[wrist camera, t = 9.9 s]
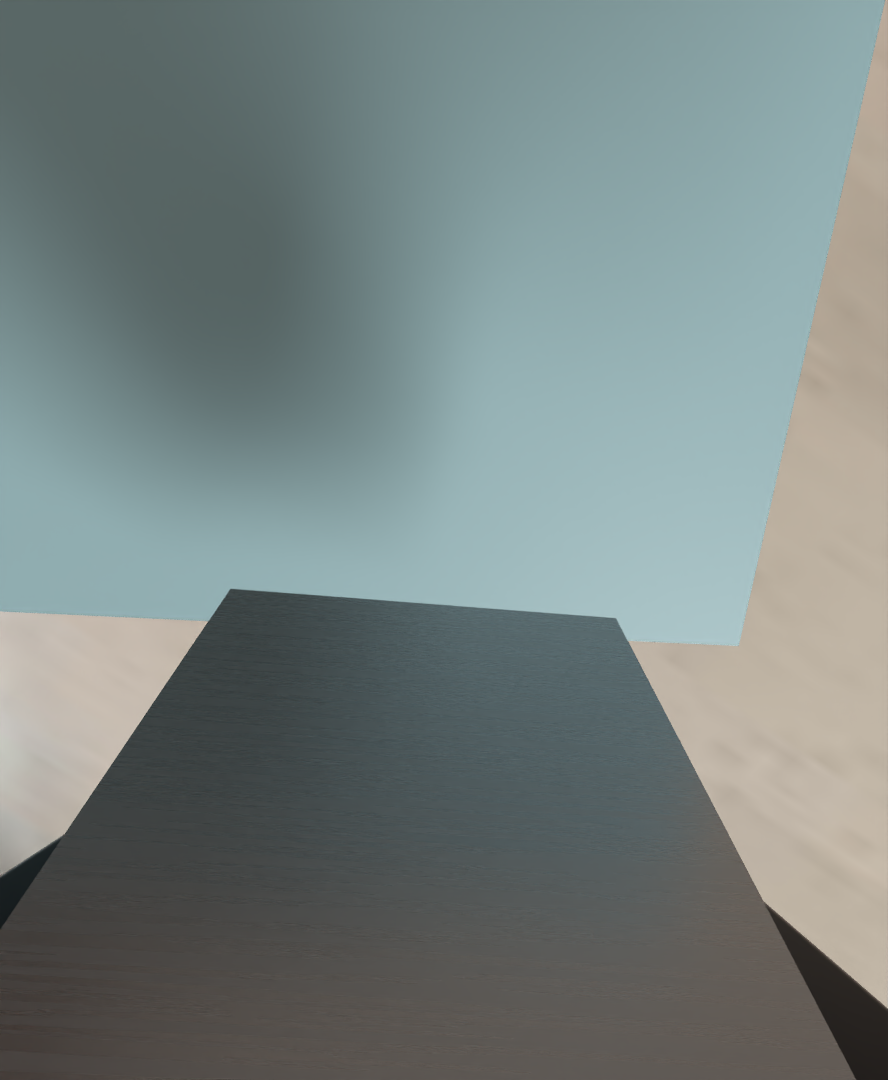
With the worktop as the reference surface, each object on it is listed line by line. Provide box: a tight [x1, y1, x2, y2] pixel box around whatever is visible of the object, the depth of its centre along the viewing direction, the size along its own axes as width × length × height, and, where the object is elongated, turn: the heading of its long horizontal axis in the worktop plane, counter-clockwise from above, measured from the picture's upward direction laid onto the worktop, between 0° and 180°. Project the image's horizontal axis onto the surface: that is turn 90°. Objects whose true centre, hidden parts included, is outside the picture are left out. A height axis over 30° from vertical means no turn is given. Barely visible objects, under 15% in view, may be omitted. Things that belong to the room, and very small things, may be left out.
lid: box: [0, 0, 885, 646], centre depth 12 cm, size 12×16×1 cm
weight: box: [0, 589, 856, 1080], centre depth 6 cm, size 4×4×6 cm
